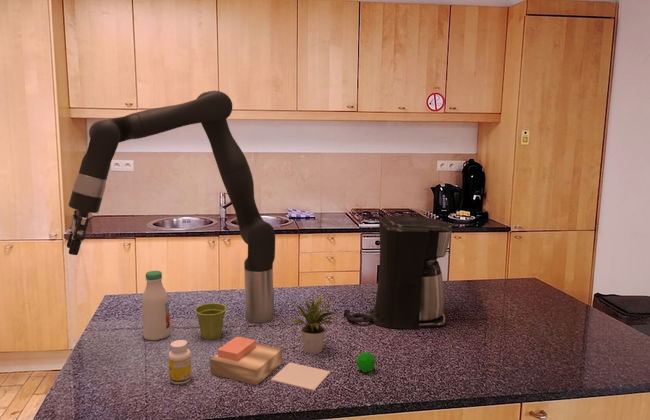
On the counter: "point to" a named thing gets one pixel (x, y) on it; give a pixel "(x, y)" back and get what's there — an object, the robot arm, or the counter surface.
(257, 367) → the wooden block
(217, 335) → the plant pot
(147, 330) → the milk bottle
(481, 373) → the counter surface
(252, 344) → the salmon orange flat block
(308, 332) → the house plant
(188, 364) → the supplement bottle
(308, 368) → the mat
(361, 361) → the polyhedron
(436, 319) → the coffee maker
